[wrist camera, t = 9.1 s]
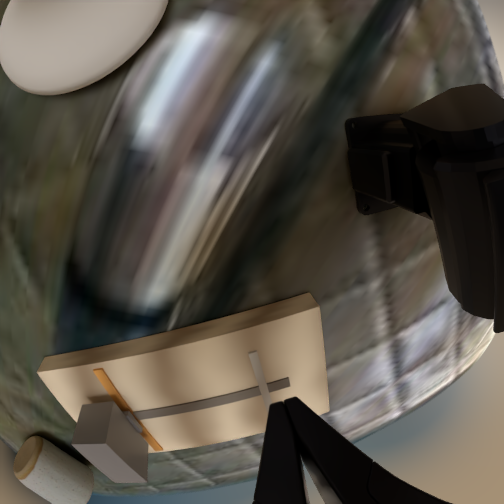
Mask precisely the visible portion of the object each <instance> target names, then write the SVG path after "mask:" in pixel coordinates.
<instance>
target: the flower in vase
mask: <svg viewBox="0 0 504 504" xmlns="http://www.w3.org/2000/svg"><path fill="white" fill-rule="evenodd" d="M167 4H168V0H11V1H10V3H9V4H8V6H7V9H6V11H5V13H4V16H3V20H2V23H1V26H0V63H1V65H2V67H3V69H4V71H5V73H6V74H7V76H8V77H9V79H10V80H11V81H12V82H13V83H14V84H15V85H16V86H17V87H19V88H21V89H22V90H24V91H26V92H29V93H32V94H38V95H57V94H64V93H68V92H71V91H75V90H78V89H80V88H83V87H85V86H88V85H90V84H92V83H94V82H96V81H98V80H100V79H101V78H103V77H105V76H106V75H108V74H109V73H111V72H112V71H114V70H115V69H116V68H118V67H119V66H121V65H122V64H123V63H124V62H125V61H127V60H128V59H129V58H130V57H131V56H132V55H134V54H135V52H136V51H137V50H138V49H139V48H140V47H141V46H142V45H143V44H144V43H145V42H146V40H147V39H148V38H149V37H150V35H151V34H152V33H153V31H154V30H155V28H156V27H157V25H158V24H159V22H160V20H161V18H162V16H163V14H164V12H165V9H166V6H167Z"/></svg>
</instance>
